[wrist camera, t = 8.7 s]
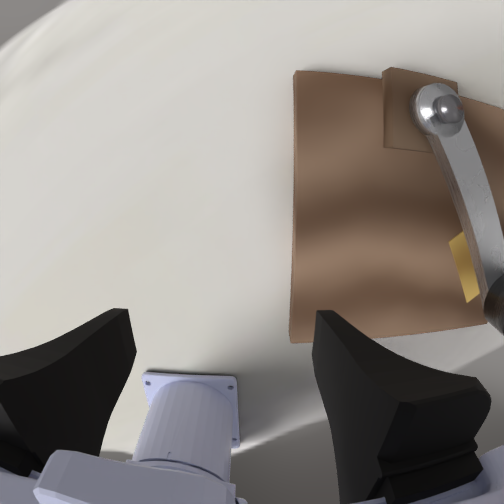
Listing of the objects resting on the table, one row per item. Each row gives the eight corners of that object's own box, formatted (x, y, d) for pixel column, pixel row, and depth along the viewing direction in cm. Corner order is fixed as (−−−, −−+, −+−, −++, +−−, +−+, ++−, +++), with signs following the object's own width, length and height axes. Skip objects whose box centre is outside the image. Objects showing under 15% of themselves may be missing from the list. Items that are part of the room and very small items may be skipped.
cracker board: (478, 316, 24) (496, 331, 21) (288, 332, 24) (293, 355, 21) (503, 108, 18) (526, 107, 15) (293, 68, 18) (299, 56, 15)
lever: (395, 100, 15) (449, 85, 10) (440, 77, 15) (499, 60, 9) (477, 324, 20) (519, 363, 14) (511, 296, 19) (555, 328, 14)
